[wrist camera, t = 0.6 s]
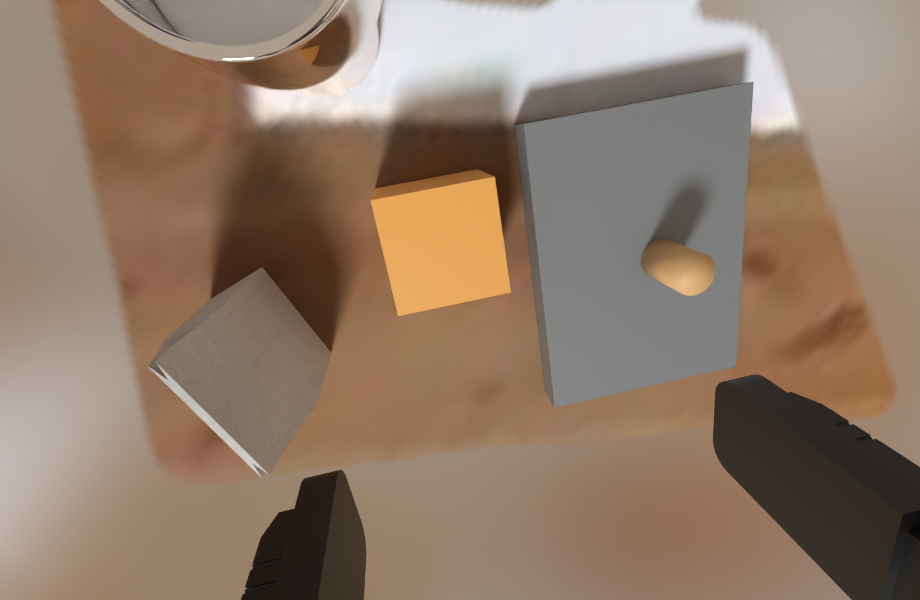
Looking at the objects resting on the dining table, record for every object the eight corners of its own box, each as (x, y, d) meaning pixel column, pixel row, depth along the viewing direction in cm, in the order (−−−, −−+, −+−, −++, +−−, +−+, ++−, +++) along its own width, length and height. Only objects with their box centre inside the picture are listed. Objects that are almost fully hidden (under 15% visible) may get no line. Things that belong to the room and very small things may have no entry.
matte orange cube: (374, 188, 26) (370, 200, 21) (477, 169, 26) (494, 176, 22) (397, 285, 28) (398, 316, 23) (491, 266, 28) (510, 292, 24)
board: (514, 125, 26) (544, 122, 21) (728, 85, 27) (807, 74, 22) (545, 391, 32) (574, 440, 27) (716, 353, 33) (775, 393, 28)
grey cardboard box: (262, 266, 27) (191, 338, 17) (331, 352, 29) (302, 455, 20) (210, 298, 27) (113, 386, 18) (283, 381, 29) (232, 496, 20)
